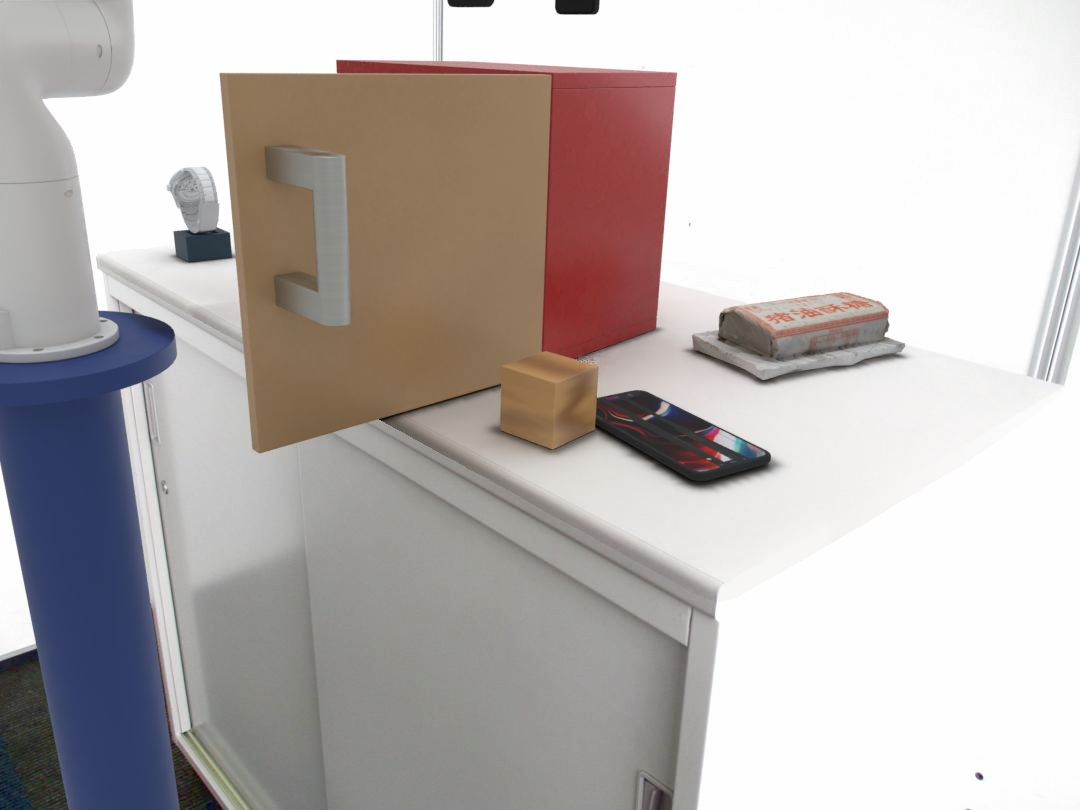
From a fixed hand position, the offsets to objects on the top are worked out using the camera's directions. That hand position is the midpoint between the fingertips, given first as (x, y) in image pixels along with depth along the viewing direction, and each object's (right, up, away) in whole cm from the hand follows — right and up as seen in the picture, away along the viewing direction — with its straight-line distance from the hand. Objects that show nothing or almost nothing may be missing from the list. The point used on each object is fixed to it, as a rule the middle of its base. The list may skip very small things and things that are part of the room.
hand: (526, 10), depth 56 cm
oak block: (+1, -26, +12) cm, 28 cm away
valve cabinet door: (-7, -25, +13) cm, 29 cm away
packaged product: (+25, -19, +31) cm, 45 cm away
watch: (-42, -5, +61) cm, 74 cm away
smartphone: (+10, -26, +11) cm, 30 cm away
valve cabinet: (-3, -15, +39) cm, 42 cm away
